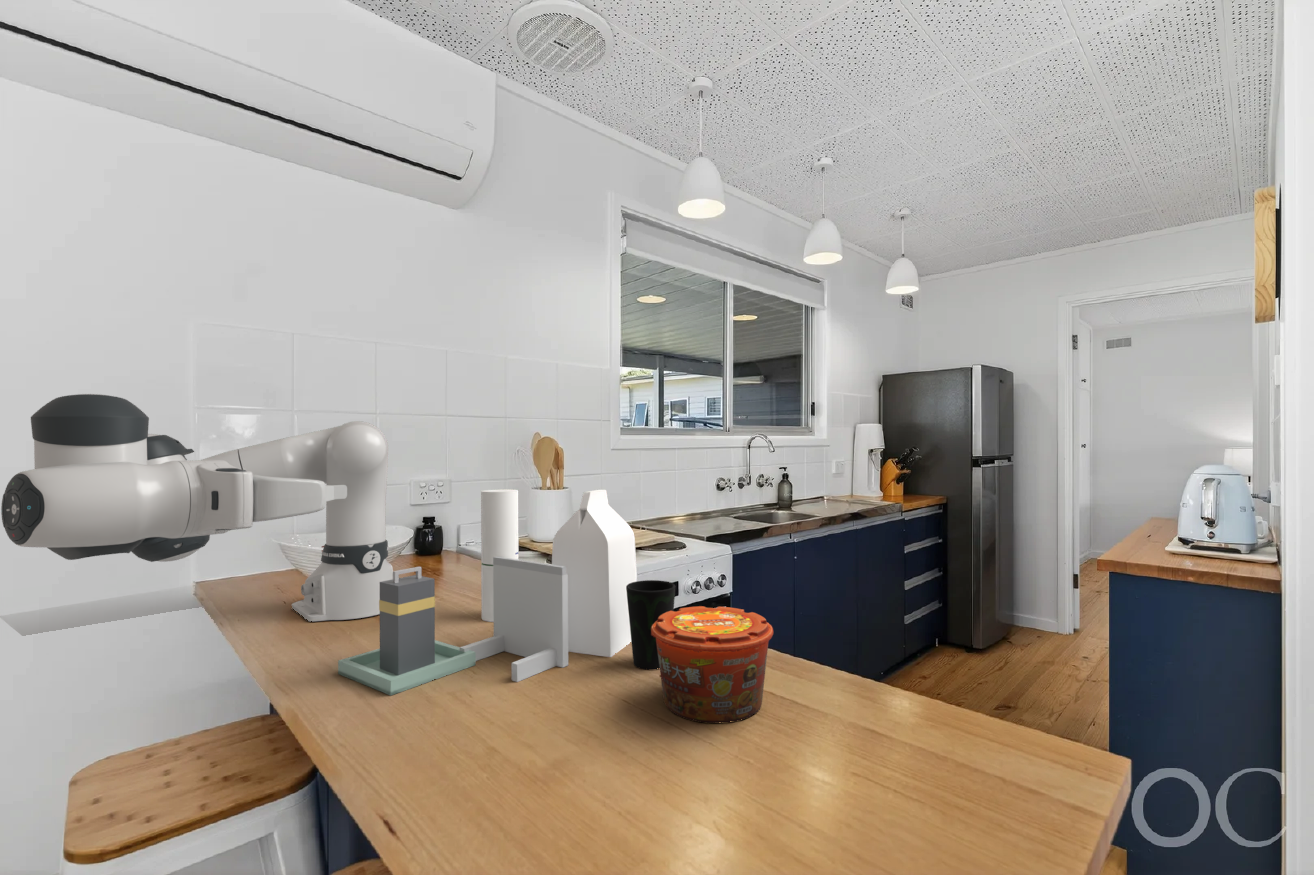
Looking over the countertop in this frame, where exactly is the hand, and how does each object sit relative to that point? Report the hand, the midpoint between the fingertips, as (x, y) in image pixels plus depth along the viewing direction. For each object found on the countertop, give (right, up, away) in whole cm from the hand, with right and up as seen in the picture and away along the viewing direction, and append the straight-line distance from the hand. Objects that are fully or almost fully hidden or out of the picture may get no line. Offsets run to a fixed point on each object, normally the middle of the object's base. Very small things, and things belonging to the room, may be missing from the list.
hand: (326, 490), depth 83 cm
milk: (+35, -28, +22) cm, 50 cm away
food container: (+52, -28, -3) cm, 59 cm away
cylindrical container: (+14, -29, +38) cm, 49 cm away
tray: (+7, -28, +9) cm, 31 cm away
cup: (+44, -28, +11) cm, 54 cm away
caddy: (+7, -28, +9) cm, 30 cm away
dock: (+22, -28, +11) cm, 37 cm away
